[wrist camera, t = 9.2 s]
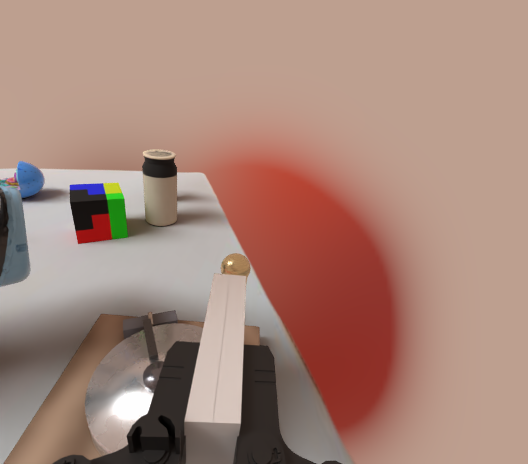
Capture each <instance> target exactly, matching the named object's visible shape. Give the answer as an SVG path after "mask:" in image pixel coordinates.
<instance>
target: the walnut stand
mask: <svg viewBox="0 0 528 464" xmlns="http://www.w3.org/2000/svg"><path fill="white" fill-rule="evenodd" d="M145 319H151V323H152V327H154V326H158V325H163V324H171V323H181V324H190V325H195V326H198V327H201V328H203V327H204V322H194V321H182V320H177V315H176V311H175V310H174V311H169V312H163V313H158V314H152V312H149V313H148V315H147V316H141V317H133V316H120V315H108V314H101V315H100V316H99V318H98V319H97V321H96V322H95V324H94V326H93V327H92V329H91V330H90V332H89V333H88V335H87V336H86V338H85V339H84V341H83V342H82V344H81V345H80V347H79V349H78V350H77V352H76V353H75V355H74V356H73V358H72V359H71V361H70V362H69V364H68V365H67V367H66V369H65V370H64V372H63V373H62V375H61V376H60V378H59V379H58V381H57V382H56V384H55V385H54V387H53V388H52V390H51V392H50V393H49V395H48V396H47V398H46V399H45V401H44V402H43V404H42V405H41V407H40V408H39V410H38V411H37V413H36V415H35V416H34V418H33V419H32V421H31V422H30V424H29V425H28V427H27V428H26V430H25V431H24V433H23V435H22V436H21V438H20V439H19V441H18V442H17V444H16V445H15V447H14V448H13V450H12V451H11V453H10V454H9V456H8V458H7V459H6V461H5V462H4V464H52V463H54V462H56V461H57V460H59V459H60V458H63V457H66V456H69V455H72V454H73V455H83V456H84V457H86V458H87V459H89V460H92V459H95V458H98V457H101V455H100V453H99V452H98V450H97V449H96V447H95V445H94V443H93V440H92V437H91V433H90V430H89V426H88V422H87V418H86V414H85V398H86V392H87V388H88V384H89V382H90V379H91V377H92V375H93V373H94V371H95V370H96V368H97V366H98V365H99V364H100V362H101V361H102V359H103V358H104V357H105V356H106V355H107V354H108V353H109V352H110V351H111V350H112V349H113V348H114V347H115V346H116V345H118V344H119V343H120V342H122V341H123V340H125V339H126V338H128V337H130V336H131V335H133V334H135V333H137V332H139V331H142V330H144V327H143V320H145ZM244 344H245V345H260V341H259V327H256V326H244Z"/></svg>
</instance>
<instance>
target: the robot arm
mask: <svg viewBox="0 0 528 464" xmlns="http://www.w3.org/2000/svg"><path fill="white" fill-rule="evenodd" d="M29 274H30V261H29V253H28V245H27V237H26V228H25V220H24V213H23V205H22V198H21V193H20V191H19V190H18V189H16V188H13V187H5V186H0V287H1V286H6V285H10V284H14V283H18V282H21V281H23V280H24V279H26V278H27V277H28V275H29ZM245 296H246V276H240V275H228V274H215V273H214V278H213V282H212V287H211V292H210V297H209V302H208V307H207V312H206V317H205V322H204V327H203V332H202V337H201V342H184V341H176V342H175V343H174V344H173V345H172V347H171V348H170V349H169V350H168V351H167V353H166V357H165V360H164V363H163V367H162V369H161V372H160V375H159V380H158V382H157V385H156V388H155V391H154V394H153V397H152V401H151V404H150V407H149V410H148V413H147V414H145V415H143V416H142V417H140V418H139V419H138V420H137V421H136V422H135V423H134V424H133V425H132V427H131V429H130V430H129V432H128V434H127V441H128V445H127V446H125V447H124V448H122V449H120V450H118V451H116V452H113V453H110V454H107V455H104V456H101V457H98V458H95V459H92V460H89V459H87V458H86V457H84V456H83V455H73V454H72V455H69V456H66V457H63V458H60V459H59V460H57V461H56V462H54V463H52V464H316V463H313V462H311V461H309V460H307V459H304V458H302V457H300V456H298V455H297V454H295V453H293V452H292V451H291V450H290V449H289V448H288V447H287V445H286V444H285V442H284V441H283V439H282V436H281V434H280V429H279V419H278V406H277V392H276V378H275V365H274V357H273V355H272V353H271V351H270V349H269V347H268V346H261V345H245V344H244V323H245ZM322 464H341V463H339V462H337V461H325V462H324V463H322Z"/></svg>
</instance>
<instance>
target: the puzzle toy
mask: <svg viewBox="0 0 528 464" xmlns="http://www.w3.org/2000/svg"><path fill="white" fill-rule="evenodd" d="M70 204H71V210H72V215H73V220H74V225H75V230H76V235H77V240H78V244H81V243H89V242H96V241H104V240H111V239H119V238H127V237H128V232H127V222H126V212H125V201H124V197H123V194H122V191H121V189H120V186H119V183H102V184H78V185H70Z"/></svg>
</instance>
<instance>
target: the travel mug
mask: <svg viewBox="0 0 528 464" xmlns="http://www.w3.org/2000/svg"><path fill="white" fill-rule="evenodd" d="M143 155H144V157H145V162H144V164H143V166H142V168H143V184H144V200H145V216H146V221H147V222H148V223H150V224H152V225H156V226H166V225H170V224H173V223H175V222H176V221H177V167H176V165H175V163H174V158H175V156H176V155H175V154H174V153H173V152H170V151H166V150H147V151H144V152H143Z"/></svg>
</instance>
